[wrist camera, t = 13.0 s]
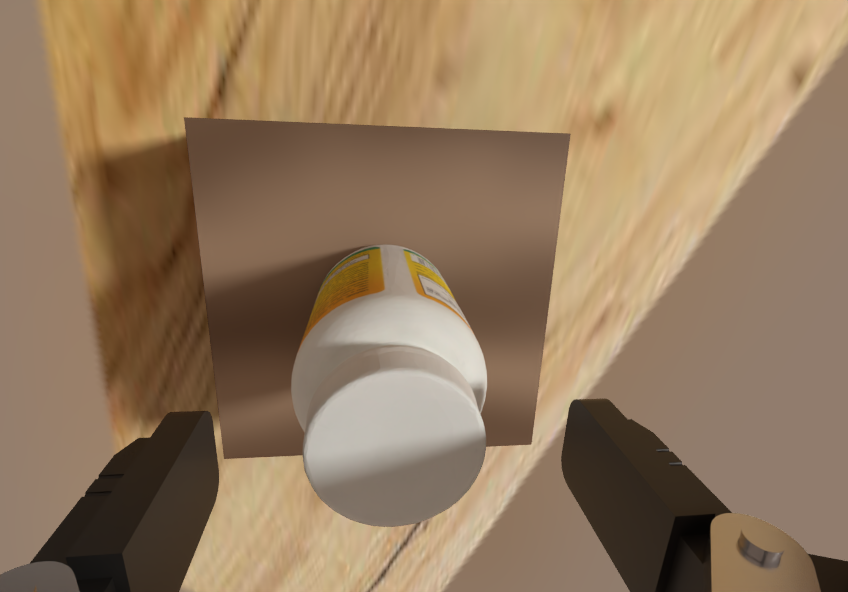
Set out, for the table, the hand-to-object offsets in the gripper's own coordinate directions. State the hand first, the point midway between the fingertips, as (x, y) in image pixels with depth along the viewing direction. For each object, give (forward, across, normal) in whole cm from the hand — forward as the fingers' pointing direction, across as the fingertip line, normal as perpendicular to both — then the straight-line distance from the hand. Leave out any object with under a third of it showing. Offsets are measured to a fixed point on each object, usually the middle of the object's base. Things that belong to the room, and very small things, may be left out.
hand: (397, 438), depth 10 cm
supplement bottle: (+9, 0, 0) cm, 9 cm away
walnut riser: (+15, 0, 0) cm, 15 cm away
